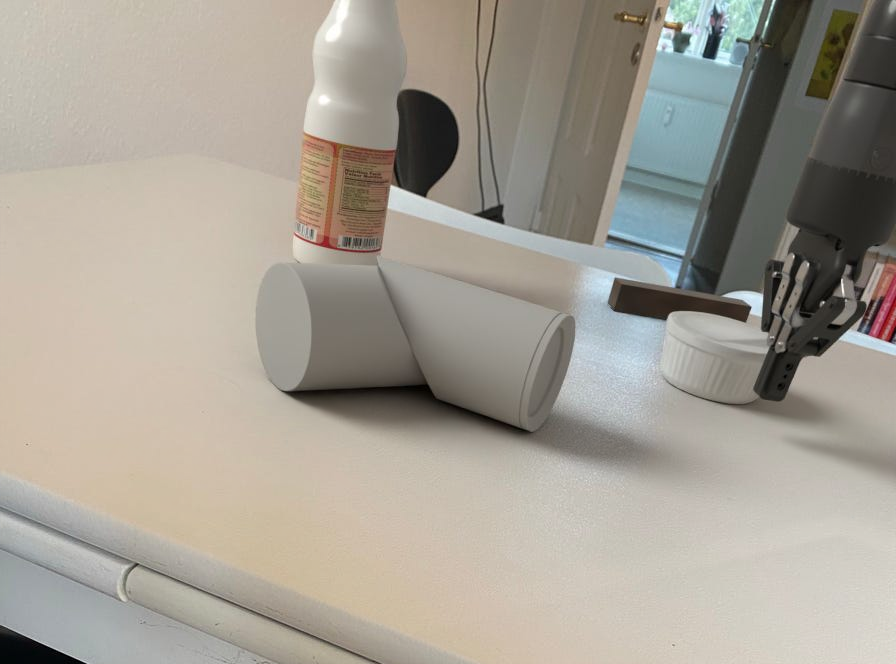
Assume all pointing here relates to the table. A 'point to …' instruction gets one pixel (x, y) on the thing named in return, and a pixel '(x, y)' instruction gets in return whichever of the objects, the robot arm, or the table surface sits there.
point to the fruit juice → (350, 134)
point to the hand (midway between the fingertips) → (767, 396)
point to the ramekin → (713, 356)
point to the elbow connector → (412, 337)
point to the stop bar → (671, 301)
